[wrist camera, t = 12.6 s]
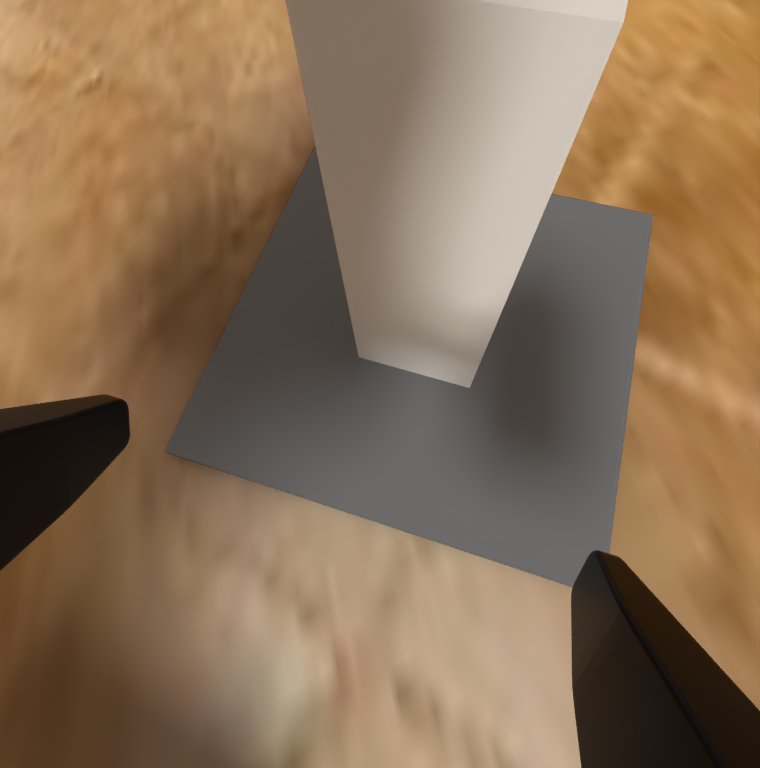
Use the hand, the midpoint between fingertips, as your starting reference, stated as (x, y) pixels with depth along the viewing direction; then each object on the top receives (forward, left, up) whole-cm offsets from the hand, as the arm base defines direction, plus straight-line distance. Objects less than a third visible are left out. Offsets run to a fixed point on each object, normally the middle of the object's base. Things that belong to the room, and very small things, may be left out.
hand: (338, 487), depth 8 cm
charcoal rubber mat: (+7, +3, -8) cm, 11 cm away
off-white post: (+7, +3, -8) cm, 11 cm away
